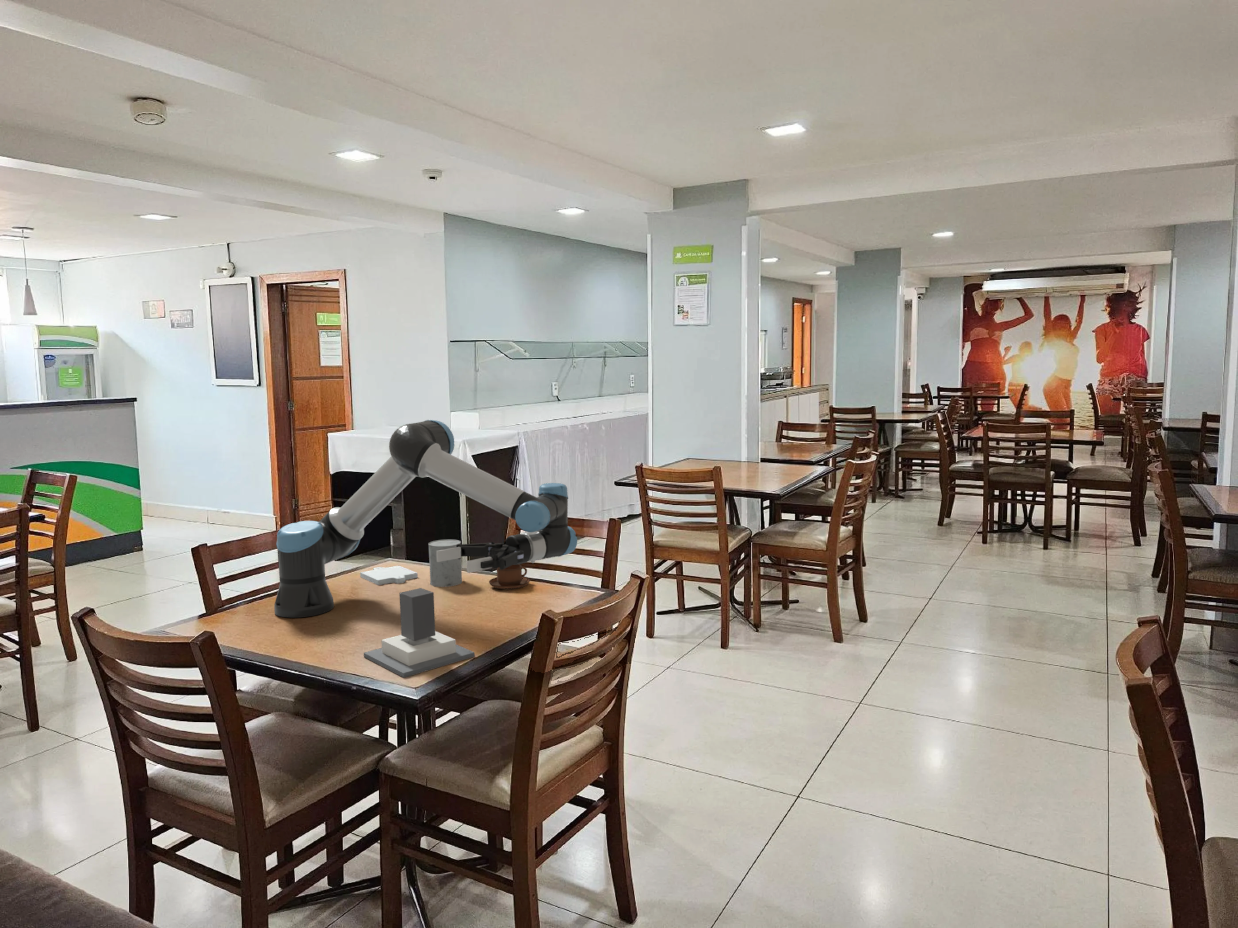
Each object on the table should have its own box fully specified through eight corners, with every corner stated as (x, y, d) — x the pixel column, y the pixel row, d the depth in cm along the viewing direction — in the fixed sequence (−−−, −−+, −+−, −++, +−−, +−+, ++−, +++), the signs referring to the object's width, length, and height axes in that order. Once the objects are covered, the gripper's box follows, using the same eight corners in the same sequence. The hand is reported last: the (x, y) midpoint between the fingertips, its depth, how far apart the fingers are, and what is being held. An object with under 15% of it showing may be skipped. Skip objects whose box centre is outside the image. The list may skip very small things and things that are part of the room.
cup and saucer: (506, 579, 262) (505, 560, 261) (538, 584, 256) (537, 564, 255) (480, 589, 251) (480, 568, 251) (513, 594, 245) (513, 573, 245)
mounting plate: (357, 576, 269) (356, 570, 269) (395, 569, 277) (395, 563, 277) (381, 588, 255) (381, 581, 255) (421, 580, 263) (421, 574, 263)
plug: (402, 652, 195) (399, 592, 193) (423, 646, 199) (420, 587, 197) (414, 658, 191) (411, 597, 189) (436, 652, 195) (433, 592, 193)
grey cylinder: (455, 587, 253) (453, 546, 252) (424, 586, 255) (423, 545, 253) (467, 579, 262) (465, 539, 261) (437, 577, 264) (436, 538, 263)
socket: (363, 656, 195) (362, 639, 195) (432, 638, 208) (432, 622, 207) (403, 677, 182) (402, 659, 182) (474, 656, 195) (474, 639, 194)
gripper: (554, 571, 211) (481, 587, 197) (496, 553, 229) (425, 566, 215) (553, 542, 210) (480, 555, 196) (495, 526, 228) (425, 537, 214)
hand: (451, 561), depth 205 cm, fingers open, 13 cm apart
